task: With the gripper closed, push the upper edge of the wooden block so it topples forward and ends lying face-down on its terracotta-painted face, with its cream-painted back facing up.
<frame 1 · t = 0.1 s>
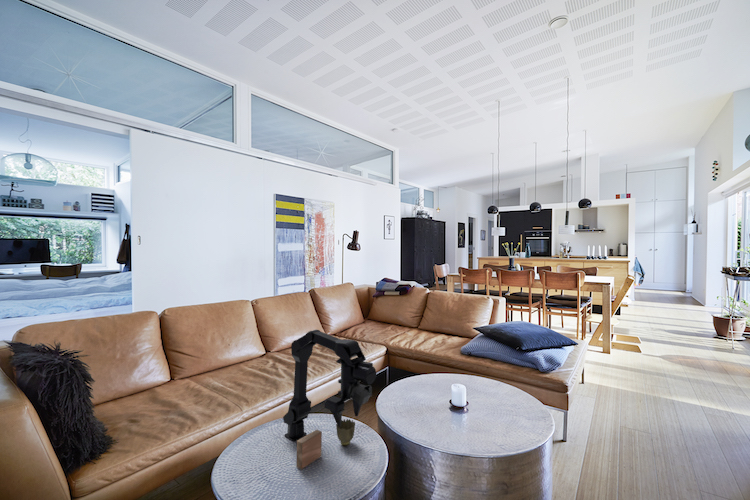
hand: (348, 421, 117), 15 cm above the table, tool pointing down, fingers open, 9 cm apart
wooden block: (309, 461, 117), on the table
cup: (345, 444, 128), on the table
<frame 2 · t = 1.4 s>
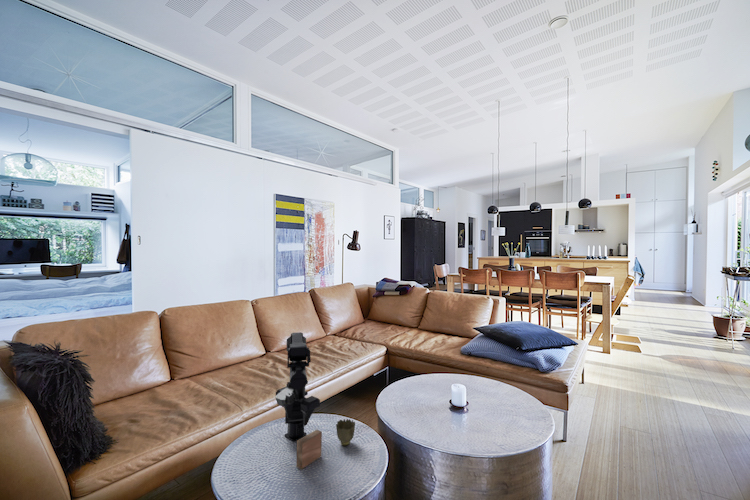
hand: (296, 421, 122), 12 cm above the table, tool pointing down, fingers open, 9 cm apart
nothing on the table moved.
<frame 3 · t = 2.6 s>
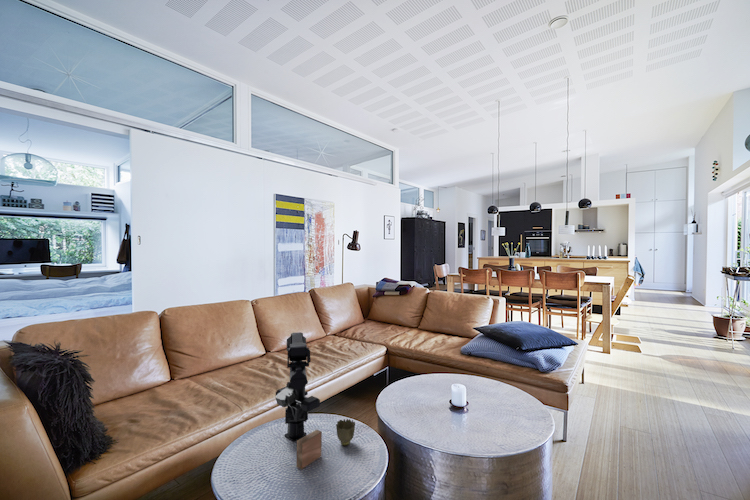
hand: (296, 421, 122), 12 cm above the table, tool pointing down, fingers closed
nothing on the table moved.
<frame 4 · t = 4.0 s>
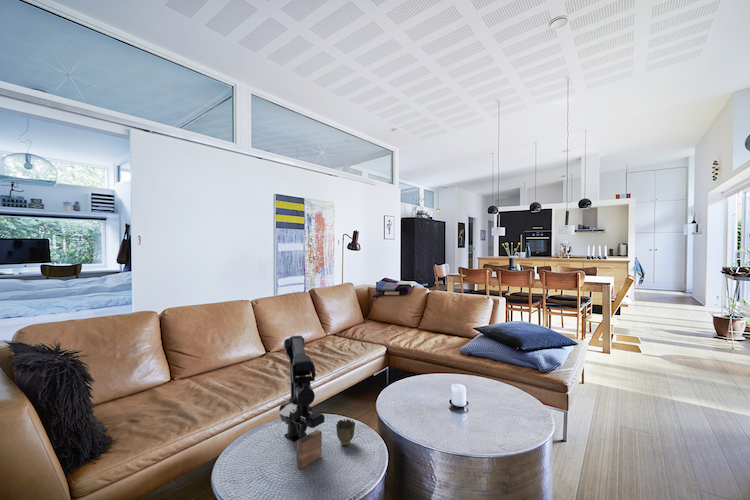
hand: (301, 437, 120), 7 cm above the table, tool pointing down, fingers closed
nothing on the table moved.
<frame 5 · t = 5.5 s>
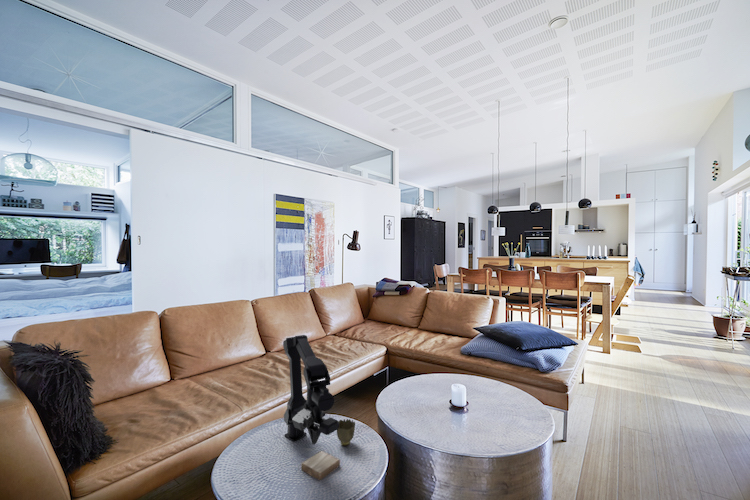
hand: (314, 443, 116), 7 cm above the table, tool pointing down, fingers closed
wooden block: (311, 460, 117), point 1 cm above the table, tilted 90°
everything else where it was.
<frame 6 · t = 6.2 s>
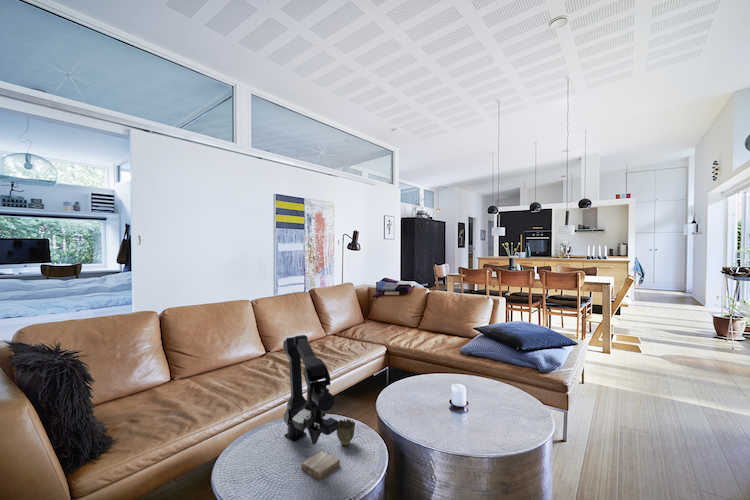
hand: (314, 443, 116), 7 cm above the table, tool pointing down, fingers closed
nothing on the table moved.
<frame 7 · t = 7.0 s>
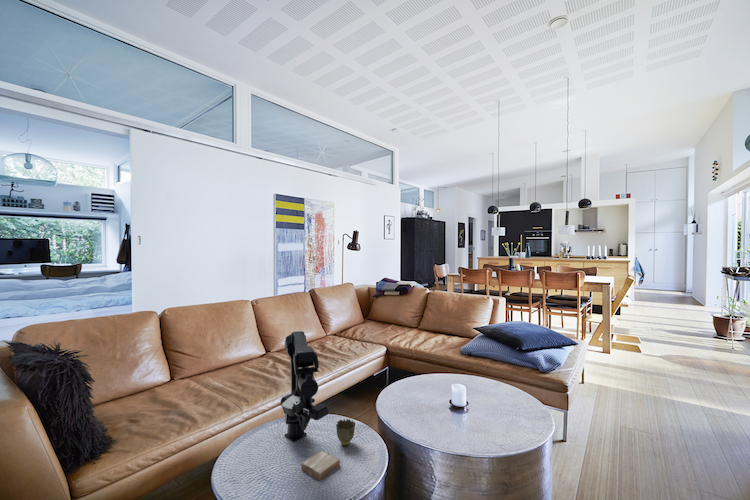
hand: (303, 430, 116), 12 cm above the table, tool pointing down, fingers closed
nothing on the table moved.
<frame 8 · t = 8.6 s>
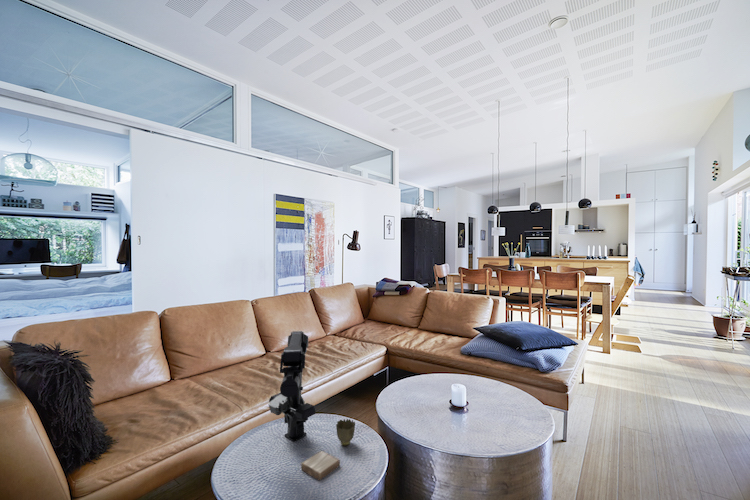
hand: (291, 429, 116), 12 cm above the table, tool pointing down, fingers closed
nothing on the table moved.
at the end: wooden block tilted 90°; wooden block inside the target area (2.7 cm from its centre), point 0.9 cm above the table; cup moved 0.2 cm from its start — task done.
